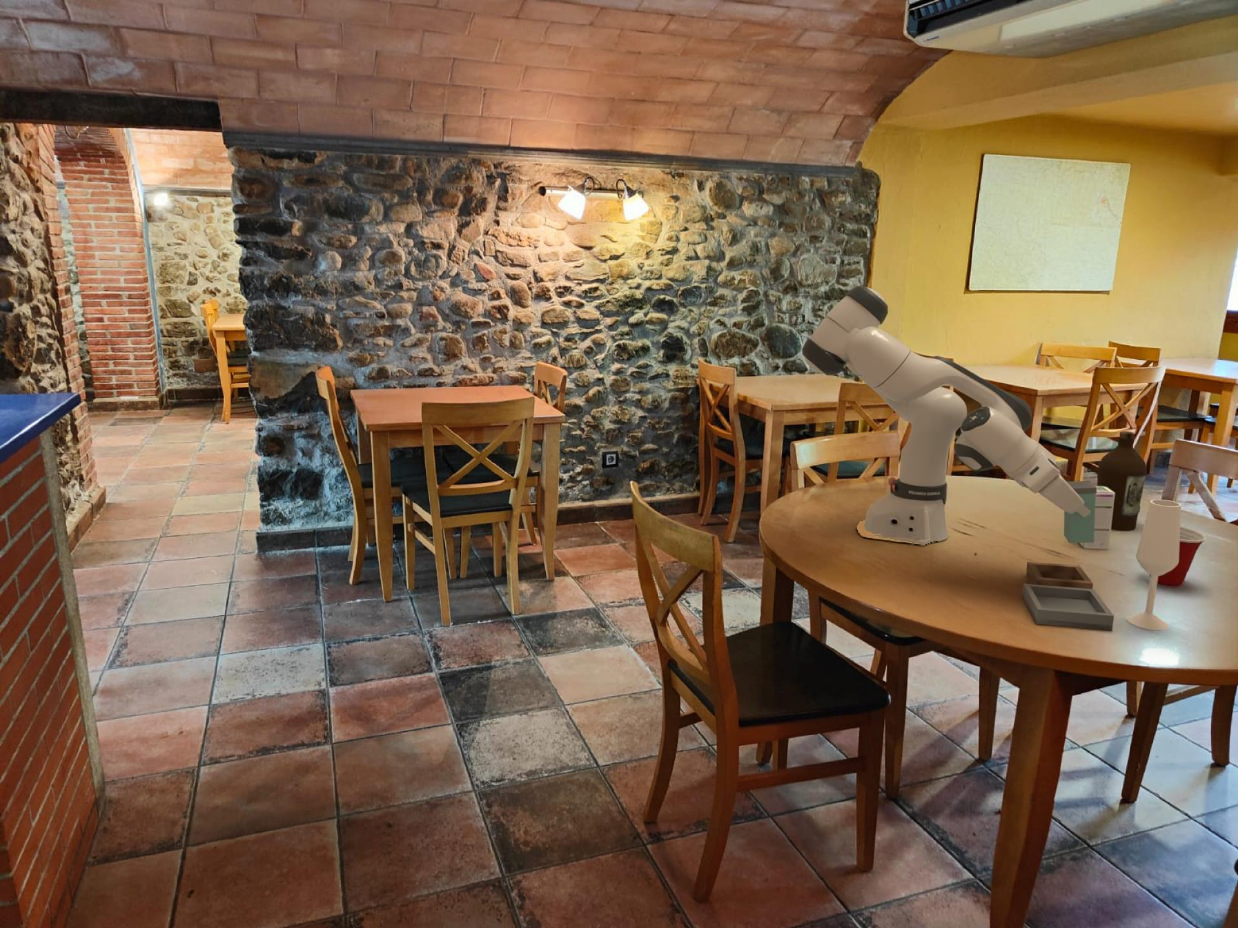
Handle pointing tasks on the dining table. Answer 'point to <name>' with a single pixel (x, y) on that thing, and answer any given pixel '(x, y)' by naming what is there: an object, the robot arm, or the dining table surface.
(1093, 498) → the pin
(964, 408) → the robot arm
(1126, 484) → the olive oil
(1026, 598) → the grey tray
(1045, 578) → the walnut collar
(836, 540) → the dining table surface
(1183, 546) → the plastic cup
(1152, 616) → the champagne flute
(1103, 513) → the syrup box
